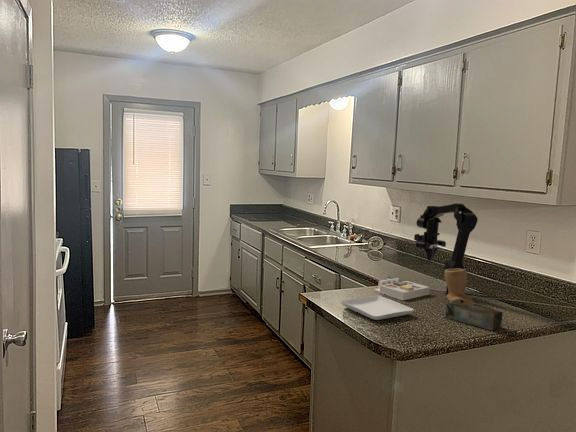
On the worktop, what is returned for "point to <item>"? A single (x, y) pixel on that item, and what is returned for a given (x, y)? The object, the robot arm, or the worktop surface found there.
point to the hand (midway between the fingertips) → (429, 260)
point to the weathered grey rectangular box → (474, 315)
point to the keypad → (399, 292)
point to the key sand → (407, 287)
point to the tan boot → (457, 285)
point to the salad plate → (377, 307)
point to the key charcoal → (399, 283)
